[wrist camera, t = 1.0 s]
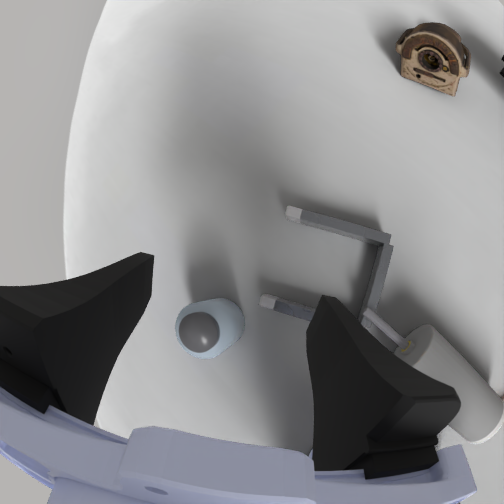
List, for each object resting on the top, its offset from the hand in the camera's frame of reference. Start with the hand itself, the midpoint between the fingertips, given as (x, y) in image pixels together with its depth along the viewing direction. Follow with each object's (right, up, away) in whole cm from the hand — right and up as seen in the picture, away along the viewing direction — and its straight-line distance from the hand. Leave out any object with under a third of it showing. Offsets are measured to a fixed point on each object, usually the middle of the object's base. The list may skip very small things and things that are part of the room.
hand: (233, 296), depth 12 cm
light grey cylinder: (-2, -4, +13) cm, 14 cm away
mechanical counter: (+22, +24, +10) cm, 34 cm away
